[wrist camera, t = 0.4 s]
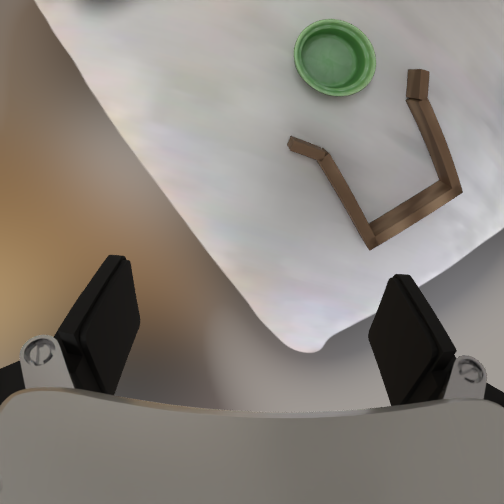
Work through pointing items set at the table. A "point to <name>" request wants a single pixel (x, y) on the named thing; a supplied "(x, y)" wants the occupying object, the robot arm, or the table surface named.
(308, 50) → the ramekin
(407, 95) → the walnut holder
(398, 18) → the table surface
